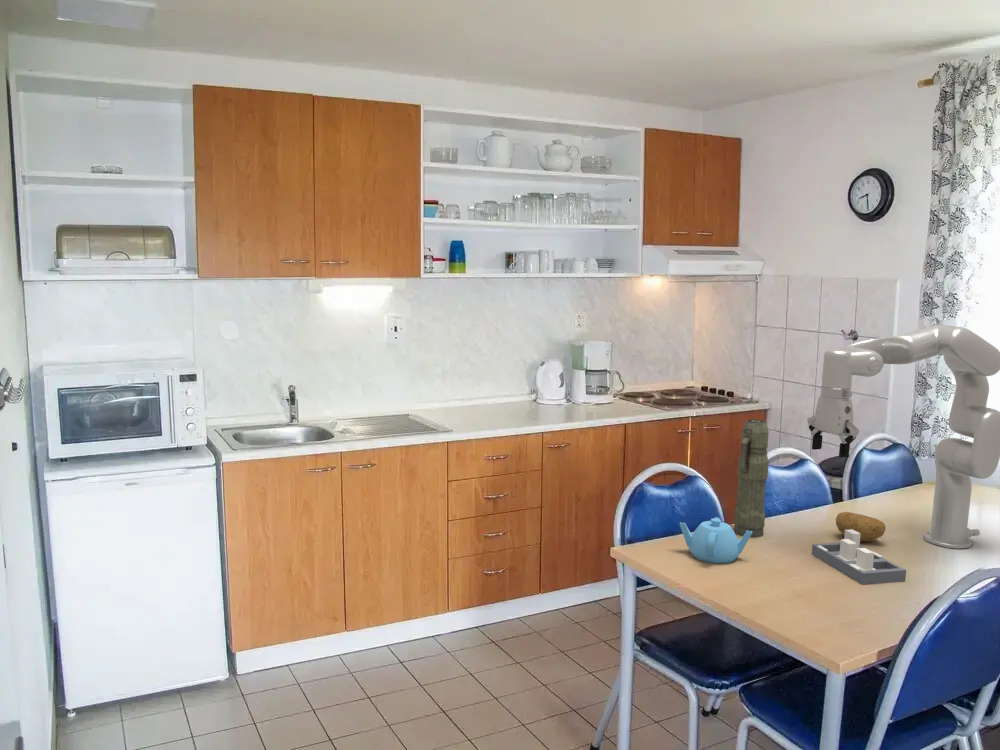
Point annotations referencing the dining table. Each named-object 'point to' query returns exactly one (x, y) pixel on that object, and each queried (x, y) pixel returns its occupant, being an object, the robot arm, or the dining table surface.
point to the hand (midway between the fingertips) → (829, 453)
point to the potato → (860, 525)
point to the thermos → (752, 479)
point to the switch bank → (883, 567)
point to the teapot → (714, 541)
